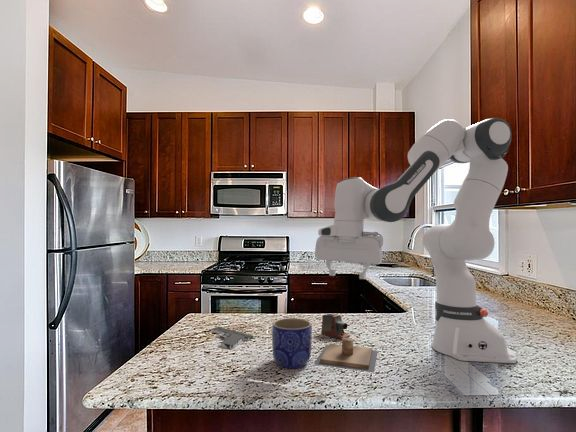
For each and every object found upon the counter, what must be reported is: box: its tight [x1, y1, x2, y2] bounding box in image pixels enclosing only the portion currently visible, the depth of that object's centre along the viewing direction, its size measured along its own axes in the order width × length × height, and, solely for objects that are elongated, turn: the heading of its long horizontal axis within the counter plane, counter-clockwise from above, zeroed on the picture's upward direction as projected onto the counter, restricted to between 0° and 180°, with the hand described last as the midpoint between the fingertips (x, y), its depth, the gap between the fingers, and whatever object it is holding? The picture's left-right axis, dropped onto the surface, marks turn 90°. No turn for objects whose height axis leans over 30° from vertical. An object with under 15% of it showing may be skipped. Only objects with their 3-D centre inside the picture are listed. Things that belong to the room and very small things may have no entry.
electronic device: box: [320, 313, 351, 341], centre depth 116 cm, size 4×10×8 cm, turn 44°
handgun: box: [211, 326, 254, 350], centre depth 113 cm, size 2×19×12 cm
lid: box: [320, 337, 373, 369], centre depth 97 cm, size 13×13×5 cm
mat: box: [313, 344, 379, 373], centre depth 96 cm, size 16×16×1 cm
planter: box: [271, 317, 313, 370], centre depth 92 cm, size 11×11×11 cm
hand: (347, 277), depth 100 cm, fingers open, 8 cm apart
